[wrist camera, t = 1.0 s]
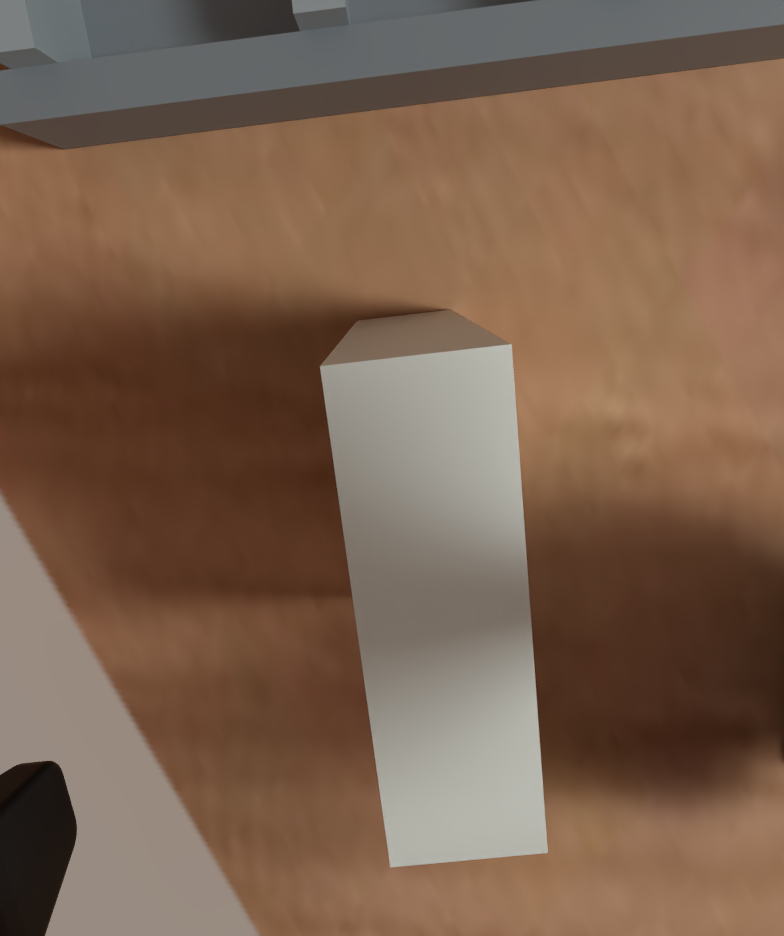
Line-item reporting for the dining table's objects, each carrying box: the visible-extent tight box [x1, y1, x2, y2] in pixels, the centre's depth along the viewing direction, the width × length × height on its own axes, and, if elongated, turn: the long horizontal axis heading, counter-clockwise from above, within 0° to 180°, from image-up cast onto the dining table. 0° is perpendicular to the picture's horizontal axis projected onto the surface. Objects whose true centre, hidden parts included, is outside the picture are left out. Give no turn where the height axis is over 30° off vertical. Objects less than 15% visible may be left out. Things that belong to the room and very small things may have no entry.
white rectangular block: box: [320, 310, 548, 867], centre depth 15 cm, size 2×8×10 cm, turn 7°
